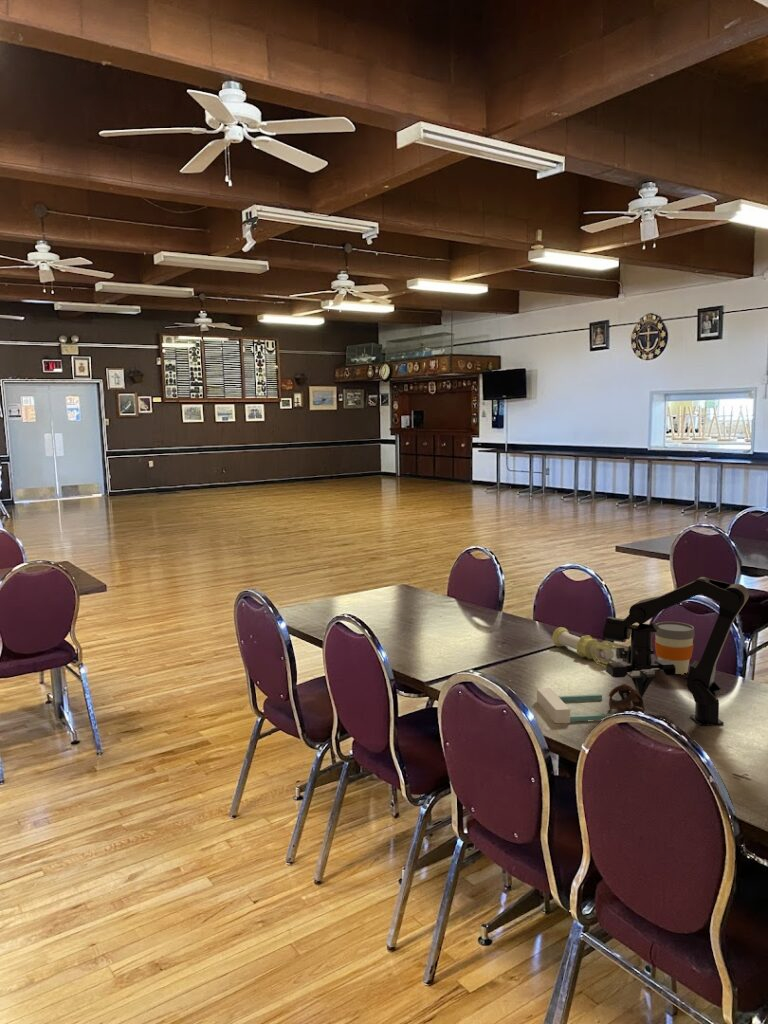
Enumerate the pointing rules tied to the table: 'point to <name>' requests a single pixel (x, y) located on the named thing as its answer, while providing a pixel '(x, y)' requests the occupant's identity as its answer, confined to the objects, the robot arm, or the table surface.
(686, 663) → the reusable coffee cup
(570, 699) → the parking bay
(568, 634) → the trophy
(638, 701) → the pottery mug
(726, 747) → the table surface
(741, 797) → the table surface
